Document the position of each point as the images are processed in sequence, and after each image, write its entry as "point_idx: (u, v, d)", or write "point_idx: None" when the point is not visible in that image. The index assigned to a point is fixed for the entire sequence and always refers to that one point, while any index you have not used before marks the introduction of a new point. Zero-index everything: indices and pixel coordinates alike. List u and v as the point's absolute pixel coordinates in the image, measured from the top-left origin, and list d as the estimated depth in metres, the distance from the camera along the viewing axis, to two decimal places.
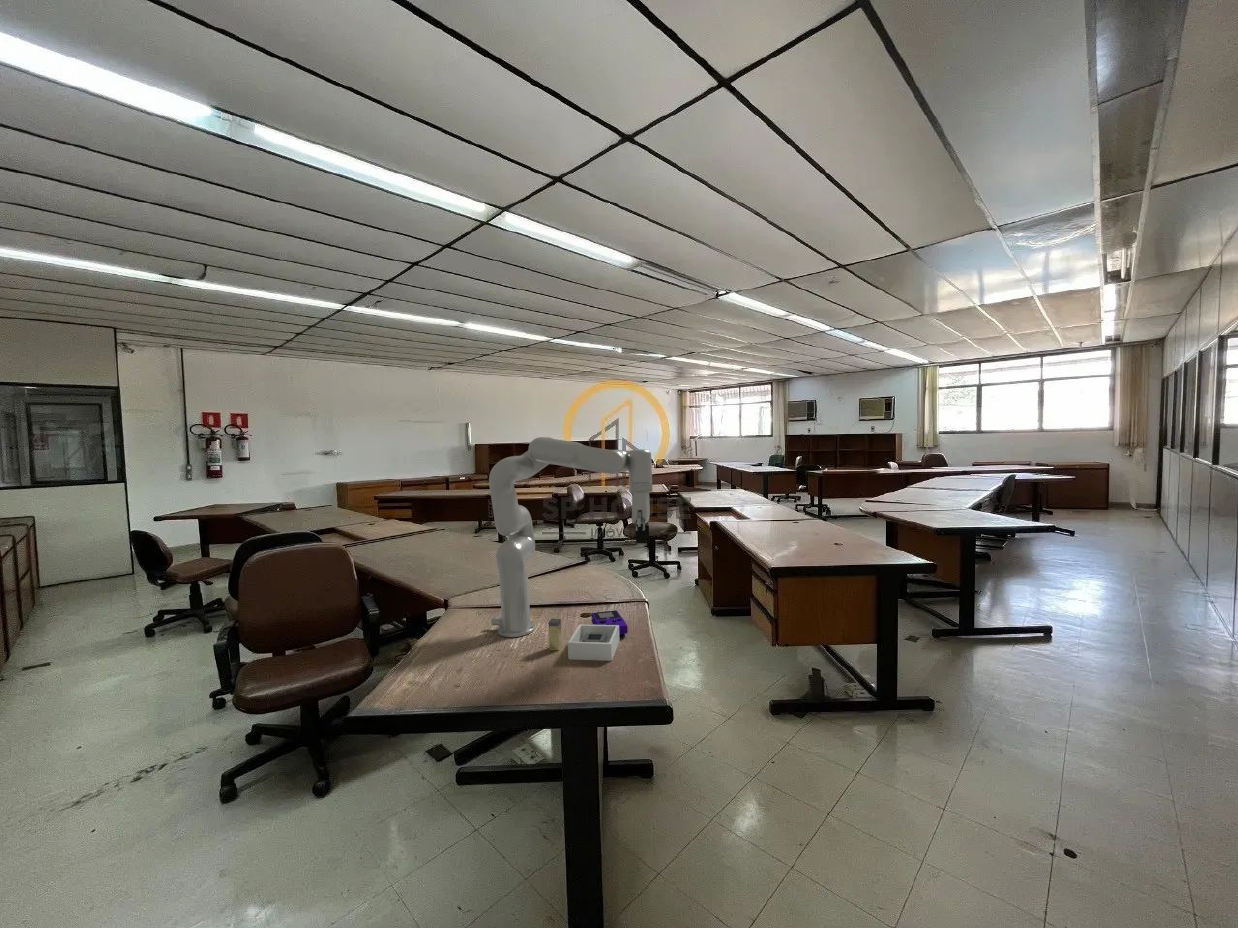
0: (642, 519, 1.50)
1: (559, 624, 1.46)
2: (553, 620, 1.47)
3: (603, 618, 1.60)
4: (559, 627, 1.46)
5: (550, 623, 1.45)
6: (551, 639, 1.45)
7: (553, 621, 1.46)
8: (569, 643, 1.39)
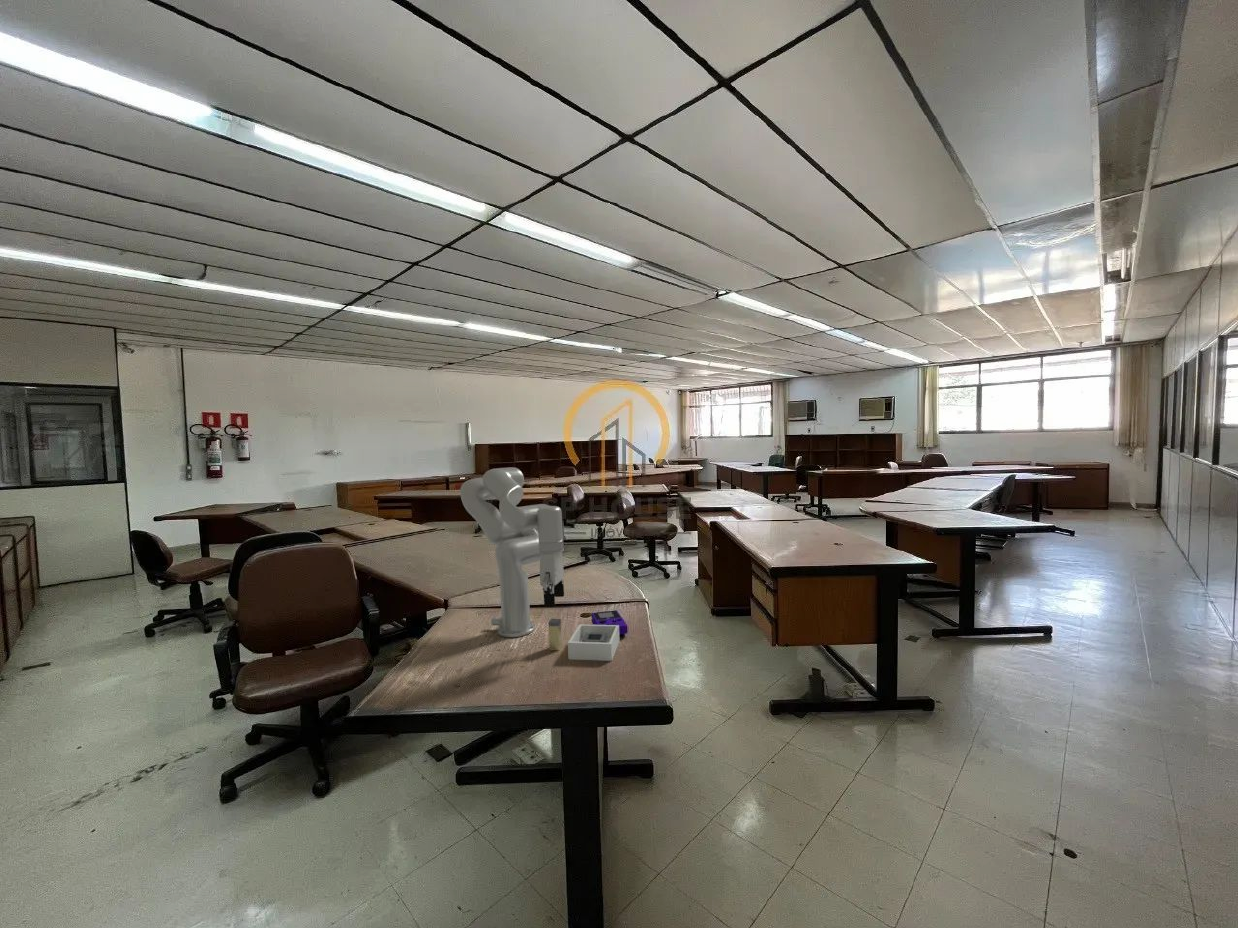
0: (551, 581, 1.42)
1: (559, 624, 1.46)
2: (553, 620, 1.47)
3: (603, 618, 1.60)
4: (559, 627, 1.46)
5: (550, 623, 1.45)
6: (551, 639, 1.45)
7: (553, 621, 1.46)
8: (569, 643, 1.39)
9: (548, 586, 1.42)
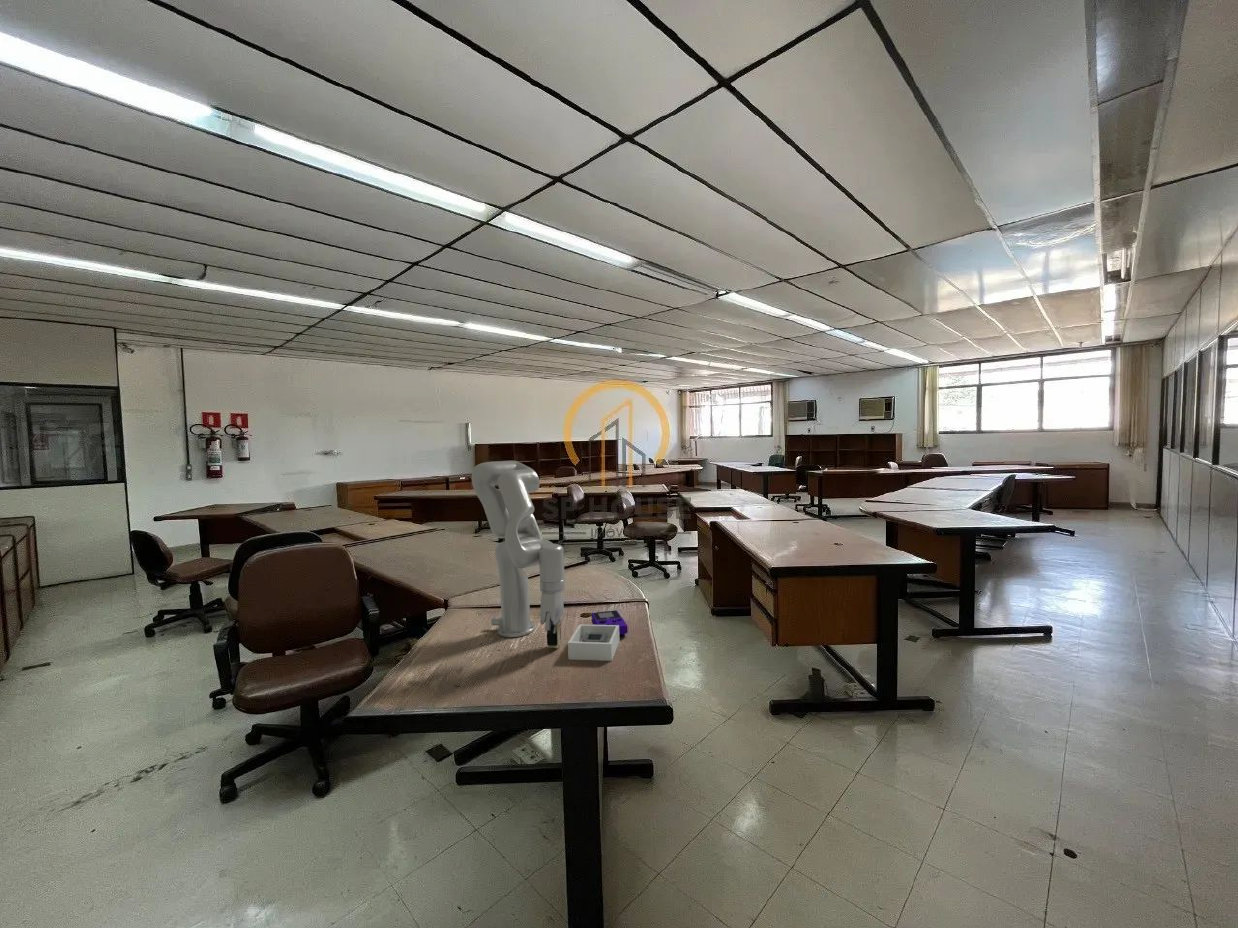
0: None
1: (558, 622, 1.47)
2: None
3: (603, 618, 1.60)
4: (558, 625, 1.47)
5: None
6: None
7: None
8: (569, 643, 1.39)
9: (550, 624, 1.45)
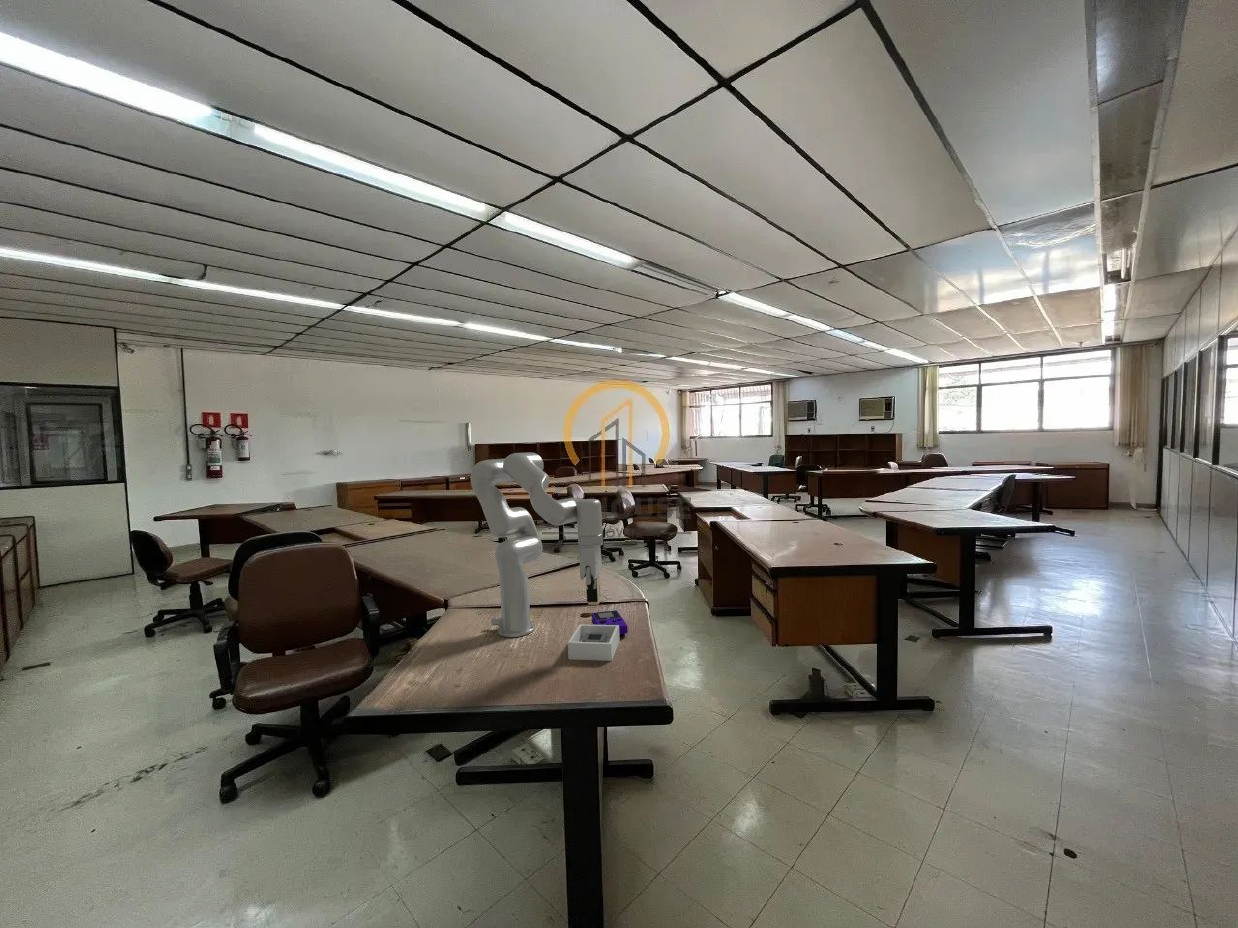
0: None
1: (597, 578, 1.43)
2: None
3: (603, 618, 1.60)
4: (597, 581, 1.43)
5: None
6: None
7: None
8: (569, 643, 1.39)
9: None
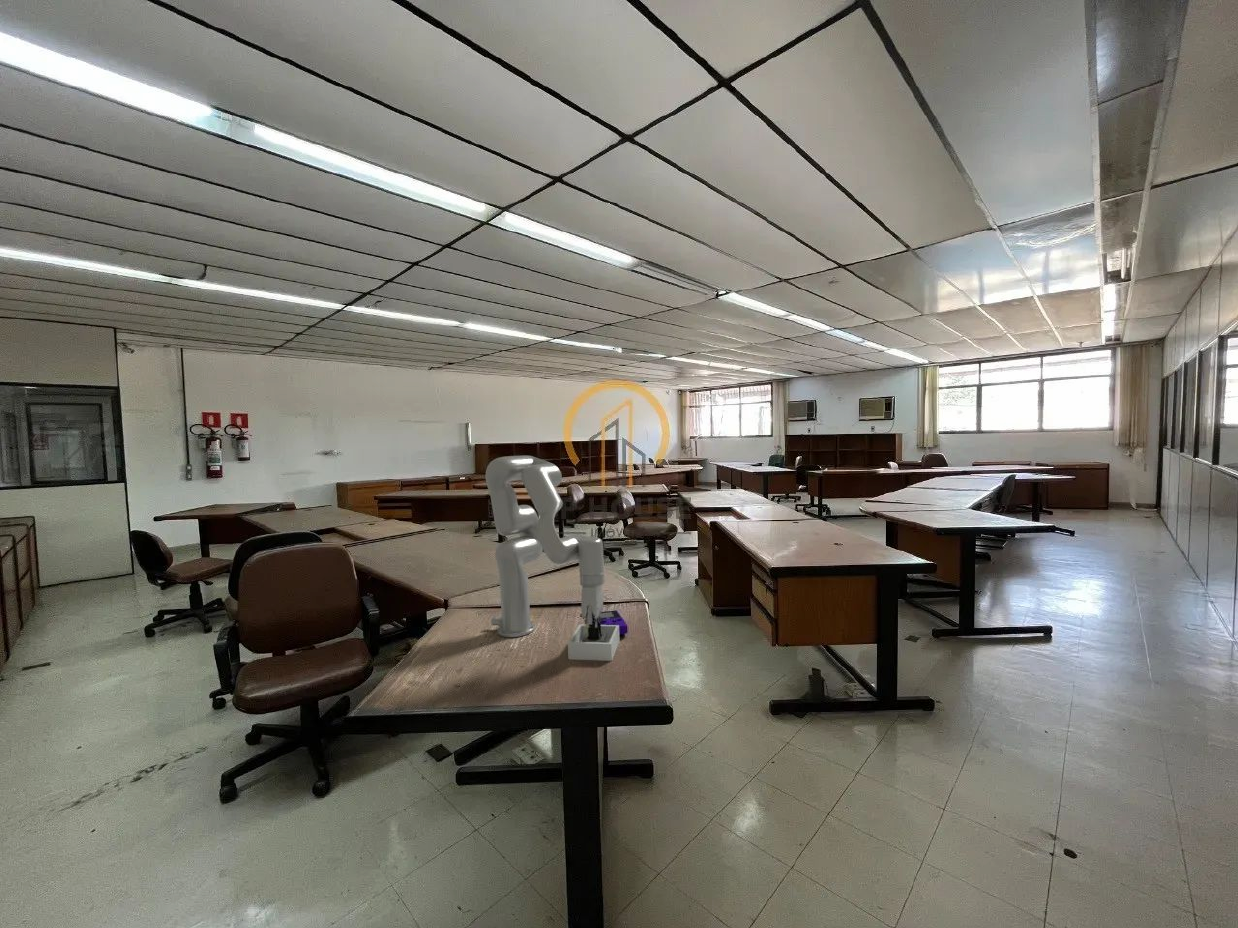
0: None
1: None
2: None
3: (603, 618, 1.60)
4: None
5: (586, 620, 1.43)
6: None
7: None
8: (569, 643, 1.39)
9: (591, 618, 1.43)
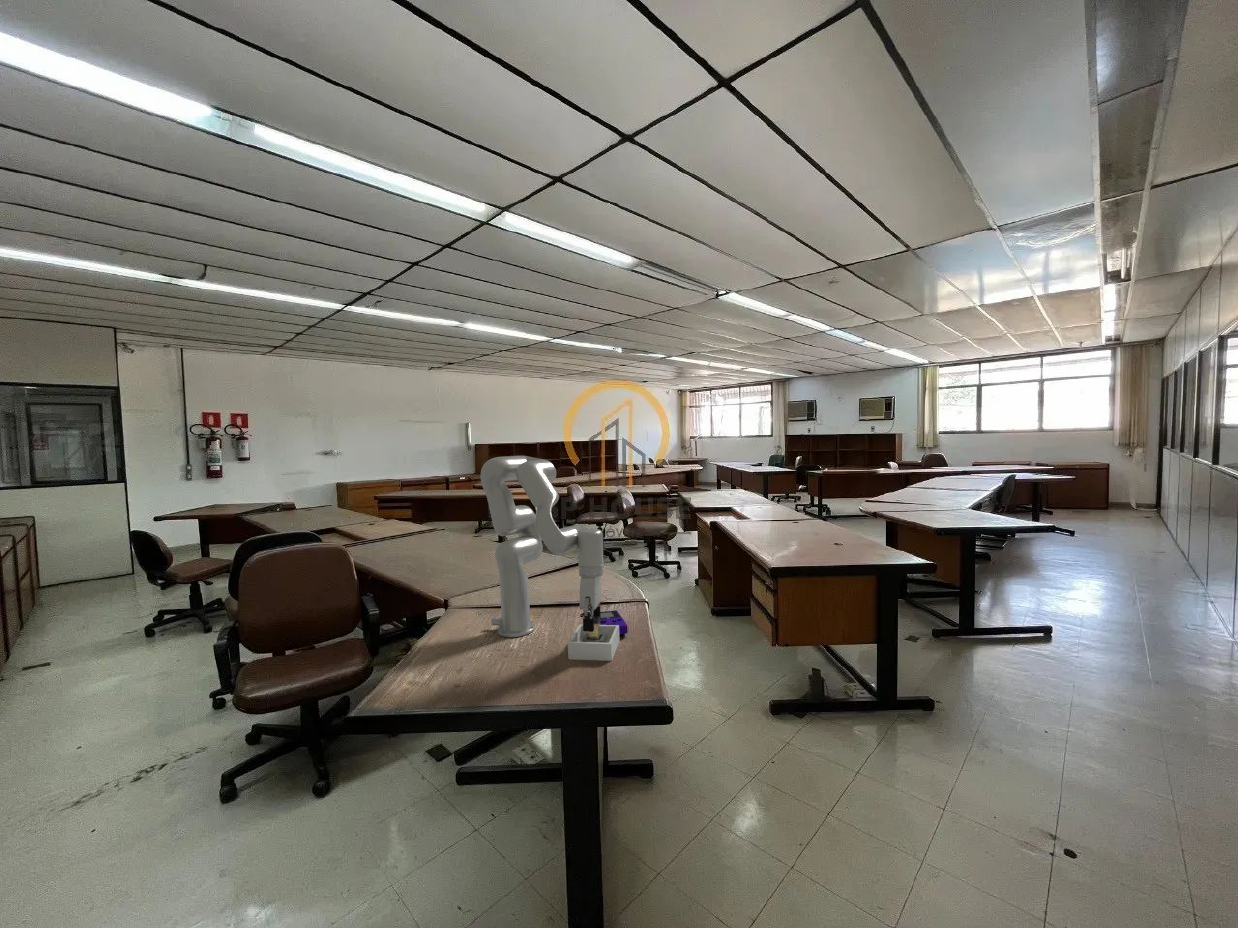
0: (591, 605, 1.41)
1: (598, 622, 1.44)
2: None
3: (603, 618, 1.60)
4: (598, 625, 1.44)
5: None
6: (591, 636, 1.43)
7: None
8: (569, 643, 1.39)
9: (587, 610, 1.41)
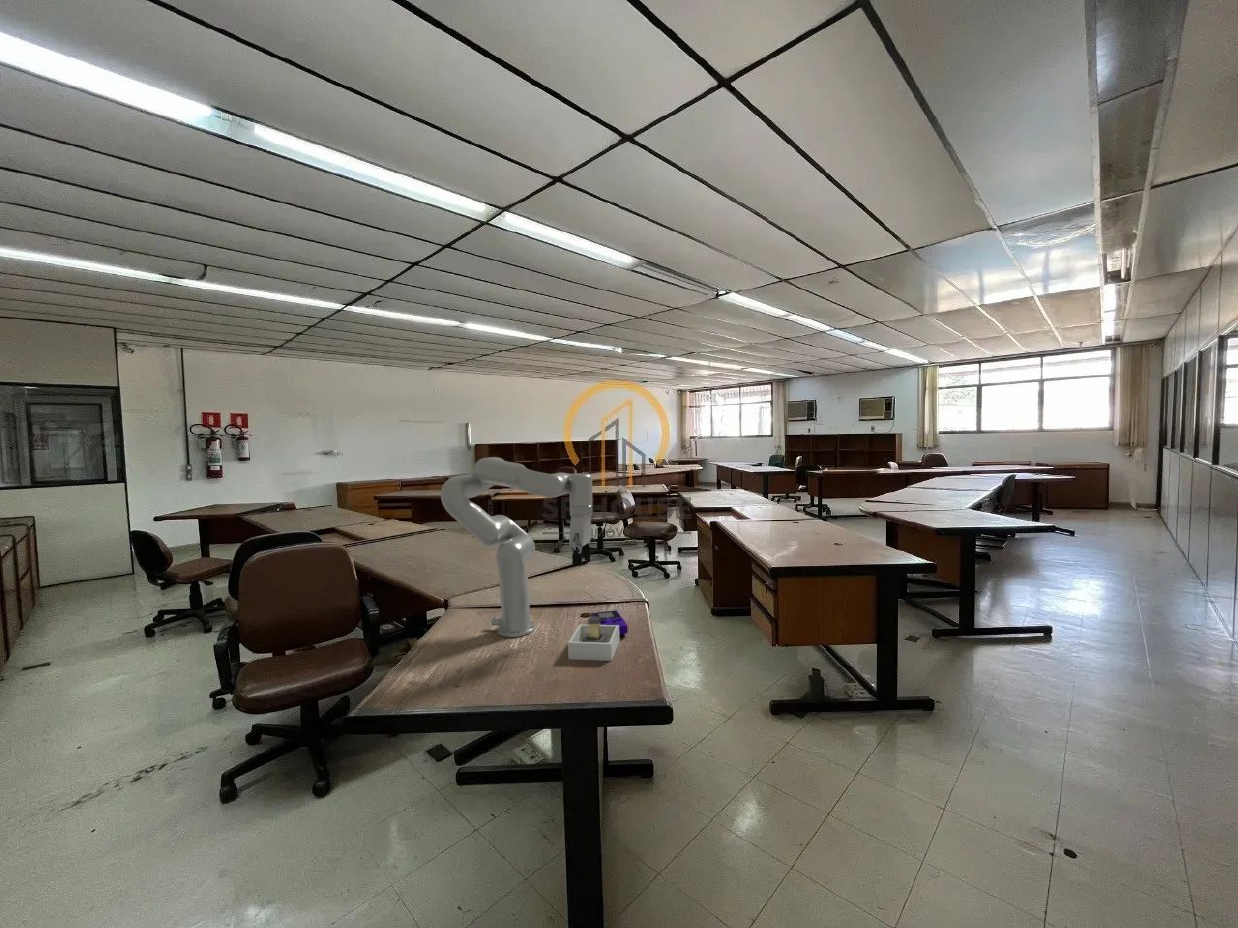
0: (580, 542, 1.54)
1: (599, 622, 1.44)
2: (592, 618, 1.44)
3: (603, 618, 1.60)
4: (599, 625, 1.44)
5: (590, 621, 1.43)
6: (591, 636, 1.43)
7: (593, 619, 1.43)
8: (569, 643, 1.39)
9: None
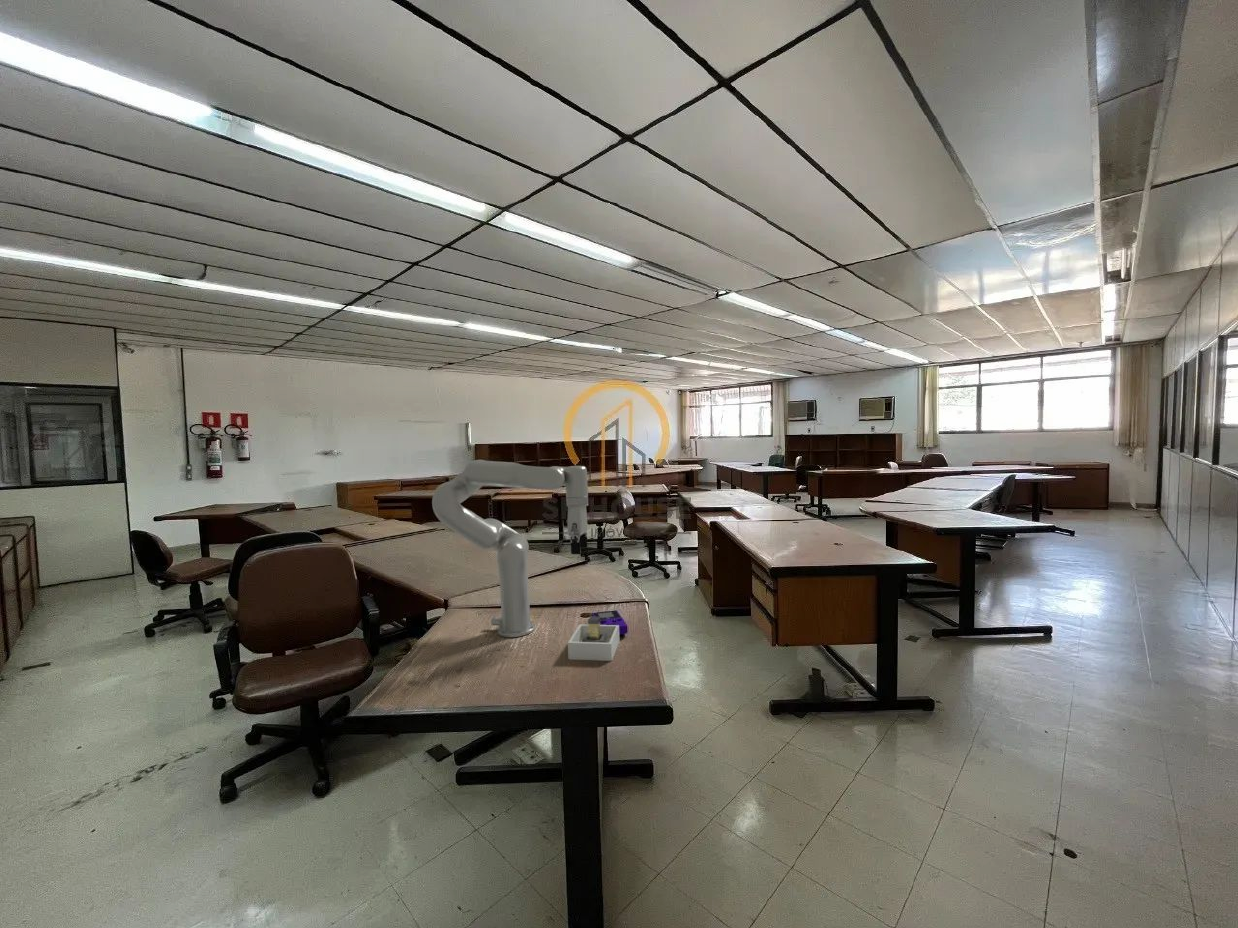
0: (577, 531, 1.60)
1: (599, 622, 1.44)
2: (592, 618, 1.44)
3: (603, 618, 1.60)
4: (599, 625, 1.44)
5: (590, 621, 1.43)
6: (591, 636, 1.43)
7: (593, 619, 1.43)
8: (569, 643, 1.39)
9: (574, 536, 1.60)
